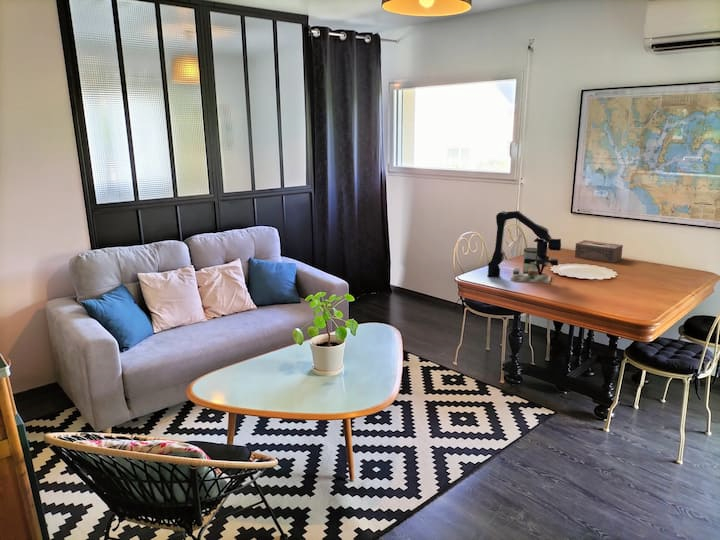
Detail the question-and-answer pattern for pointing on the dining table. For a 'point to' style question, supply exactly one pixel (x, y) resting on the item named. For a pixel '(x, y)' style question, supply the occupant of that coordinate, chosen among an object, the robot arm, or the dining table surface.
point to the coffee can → (529, 253)
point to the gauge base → (529, 277)
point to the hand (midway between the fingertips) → (540, 275)
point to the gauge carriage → (531, 272)
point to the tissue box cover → (598, 251)
